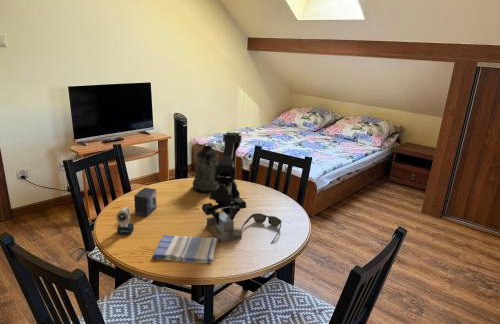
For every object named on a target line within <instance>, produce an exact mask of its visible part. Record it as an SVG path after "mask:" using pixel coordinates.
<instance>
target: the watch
mask: <svg viewBox="0 0 500 324" xmlns="http://www.w3.org/2000/svg"><path fill="white" fill-rule="evenodd" d="M115 219H116V221H117V224H118V226H117V228H116V230H117V235H124V236H127V235H128V236H131V235H132V233H133V232H134V230H135V229H134V228H135V227H134V223H132V222H131V223H130V220H131V212H130V208H129V207H122V208H120V210H119V211H118V213H117V214H116V217H115Z"/></svg>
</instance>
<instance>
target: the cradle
mask: <svg viewBox="0 0 500 324" xmlns="http://www.w3.org/2000/svg"><path fill="white" fill-rule="evenodd" d="M225 214H226V213H225ZM226 215H227V216H228V217H229V214H226ZM206 227H207V228H208V229H209V230H210V232H211V233H212V234H213V235H214V237H215V238H217V242H218V241H219V243H220V244H221V243H225V242H230V241H234V240H239V239H242V237H243V229H242V228H238V229H237V228H235V227H234V229H233V230H231V231H227V232H222V233H221V232H220V230H219V229H218V228H217V227H216V226H215V218H214V216H209V217H206Z"/></svg>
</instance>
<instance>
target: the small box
mask: <svg viewBox="0 0 500 324" xmlns="http://www.w3.org/2000/svg"><path fill="white" fill-rule="evenodd" d="M133 197H134V216H137V217H143V218H144V217H145V218H147V217H148V216H149V215H150V214H152V213H153V212H154V211H155V210H156V209H157V189H156V188H150V187H143V189H141V190H140V191H138V192H137V193H135V194H134V196H133Z"/></svg>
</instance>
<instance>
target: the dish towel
mask: <svg viewBox="0 0 500 324" xmlns="http://www.w3.org/2000/svg"><path fill="white" fill-rule="evenodd" d="M217 243H218V239H217V238H216V237H215V236H214V237H202V236H199V237H198V236H186V235H185V236H184V235H183V236H182V235H178V236H176V235H166V234H163V236H162V238H161V239H160V241H159V243H158V245H157V247H156V249H155V251H154V253H153V255H152V258H151V259H154V260H155V259H156V260H163V261H164V260H165V261H171V262H173V261H174V262H176V261H177V262H183V263H194V264H196V263H197V264H198V263H200V264H212V262H213V261H214V256H215V250H216V246H217Z"/></svg>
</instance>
